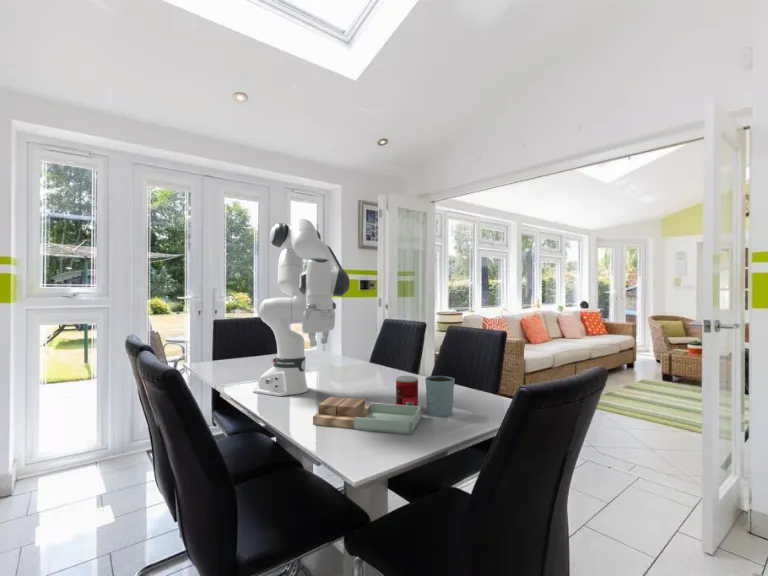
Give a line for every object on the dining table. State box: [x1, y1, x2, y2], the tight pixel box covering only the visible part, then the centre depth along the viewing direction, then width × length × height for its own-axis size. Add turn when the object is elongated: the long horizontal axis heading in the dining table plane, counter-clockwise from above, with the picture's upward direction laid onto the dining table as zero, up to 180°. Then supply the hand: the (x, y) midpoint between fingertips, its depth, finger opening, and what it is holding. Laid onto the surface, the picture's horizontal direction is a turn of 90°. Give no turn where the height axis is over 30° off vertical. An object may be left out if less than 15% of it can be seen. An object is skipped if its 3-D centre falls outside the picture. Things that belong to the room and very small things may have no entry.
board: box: [312, 405, 370, 429], centre depth 138 cm, size 14×16×2 cm
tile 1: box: [317, 396, 348, 415], centre depth 139 cm, size 6×10×3 cm, turn 165°
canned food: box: [395, 375, 419, 406], centre depth 150 cm, size 8×8×11 cm
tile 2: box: [337, 397, 366, 417], centre depth 138 cm, size 6×10×3 cm, turn 165°
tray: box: [353, 402, 423, 436], centre depth 134 cm, size 18×18×4 cm
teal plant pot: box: [424, 375, 455, 418], centre depth 145 cm, size 10×10×12 cm
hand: (319, 345), depth 144 cm, fingers open, 8 cm apart
